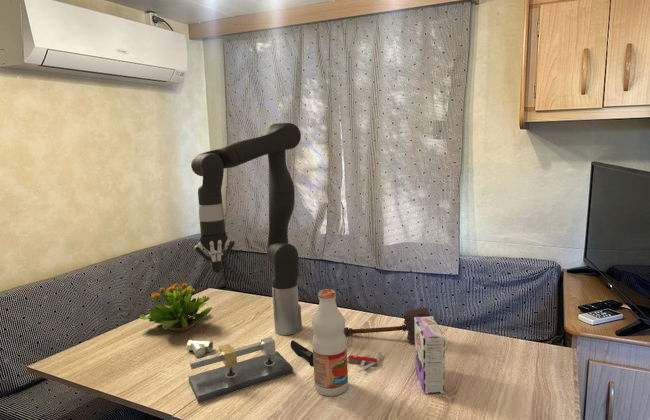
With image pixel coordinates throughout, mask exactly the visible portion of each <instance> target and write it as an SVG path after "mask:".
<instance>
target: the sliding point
mask: <svg viewBox="0 0 650 420" xmlns="http://www.w3.org/2000/svg"><path fill="white" fill-rule="evenodd" d="M235 349H236V348H234V346H231V345H230V343H228V344H224V345H220V346H218V351H219V353H221V354H222V355H223V361H222V363H223V365H224V366H226V367H229V374H232V373H233V369H232V366H233V365H236V364H237V362H238V357H237V356H236V350H235Z"/></svg>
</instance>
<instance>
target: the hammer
mask: <svg viewBox="0 0 650 420" xmlns="http://www.w3.org/2000/svg"><path fill="white" fill-rule="evenodd" d="M430 315H431V314H430V311H429V309H428V307H421V308H415V309H408V310H407V309H406V310H404V313H403V318H404V321H403V323H404V324H402V325H397V326H395V325H394V326H384V327H383V326H382V327H370V328H369V327H367V328H351V327H346V326H345V328H344V334H345V337H347V336H349V335H350V336H353V335H354V334H373V333H385V332H397V331H399V332H400V331H402V332H406V331H407V336H406V339H407V340H408V341H409V345H411V346H413V345H414V346H415V325H414V317H424V316H430Z"/></svg>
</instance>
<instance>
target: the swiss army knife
mask: <svg viewBox="0 0 650 420" xmlns="http://www.w3.org/2000/svg"><path fill="white" fill-rule="evenodd" d="M381 357H382V351H380V352H378V354H377V356H376V358H375V356H371V355H370V354H369V355H368V354H366V355H362V356H359V355H353V354H351V355H347V362H348V363H349V364H354V365H359V367H362V366H363V368H361V369H360V370H358V371H357V372H358V373H360V372H362V371H363V372H364V371H365V370H366V369H369V368H371V367H377V366H378V363H379V361H380V359H381Z"/></svg>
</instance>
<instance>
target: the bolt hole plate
mask: <svg viewBox="0 0 650 420" xmlns="http://www.w3.org/2000/svg"><path fill="white" fill-rule="evenodd" d="M275 352H276V353H274V354H271V362H268V358H267V356H265V355H264V354H263V355H259V356H255V357H252V358H248V359H245V360H241V361H237V364H236V365H233V366H232V369H233V373H232V374H229V367H226V366H225V365H224V366H220V367H218V368H217V367H216V368H213V369H211V370H207V371H204V372H203V371H202V372H199V373H196V374H192V375H190V376H188V383H189V385H190V388H191V390H192V392H193V394H194V396H195V399H196V401H197V403H198V404H200V403H203V402H206V401H209V400H212V399H216V398H218V397H222V396H225V395H228V394H231V393H235V392H238V391H241V390H244V389H247V388H251V387H253V386H256V385H260V384H262V383H266V382H269V381H273V380H275V379H280V378H282V377H285V376H288V375H291V374H294V372H293V371H294V368H293V366H292V365H291V364H290V363H289V362H288V361H287V360H286V358H284V356H283V355H282V354H281V353H280V352H279V351H277V350H275Z"/></svg>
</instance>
